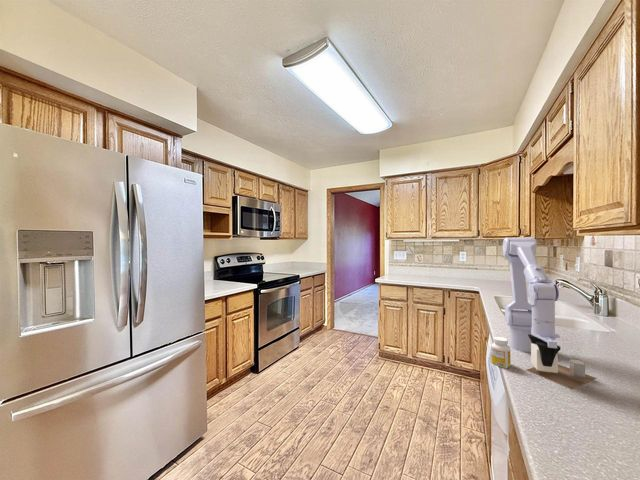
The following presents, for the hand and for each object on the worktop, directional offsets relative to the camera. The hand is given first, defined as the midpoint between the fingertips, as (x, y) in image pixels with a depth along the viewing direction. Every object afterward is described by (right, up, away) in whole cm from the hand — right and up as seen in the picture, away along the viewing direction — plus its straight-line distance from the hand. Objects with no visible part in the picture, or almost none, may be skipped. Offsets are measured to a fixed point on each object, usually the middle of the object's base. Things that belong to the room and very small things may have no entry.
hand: (543, 361), depth 86 cm
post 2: (+8, -3, -3) cm, 9 cm away
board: (+4, -4, -2) cm, 6 cm away
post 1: (0, -3, 0) cm, 3 cm away
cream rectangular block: (0, -2, 0) cm, 2 cm away
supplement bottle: (-10, -5, +6) cm, 12 cm away
